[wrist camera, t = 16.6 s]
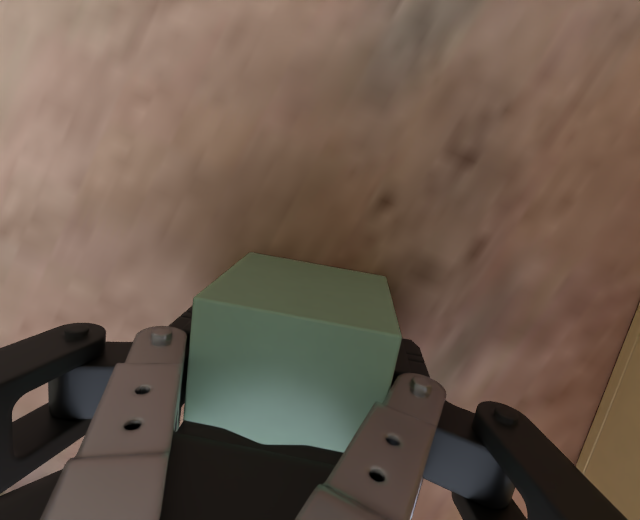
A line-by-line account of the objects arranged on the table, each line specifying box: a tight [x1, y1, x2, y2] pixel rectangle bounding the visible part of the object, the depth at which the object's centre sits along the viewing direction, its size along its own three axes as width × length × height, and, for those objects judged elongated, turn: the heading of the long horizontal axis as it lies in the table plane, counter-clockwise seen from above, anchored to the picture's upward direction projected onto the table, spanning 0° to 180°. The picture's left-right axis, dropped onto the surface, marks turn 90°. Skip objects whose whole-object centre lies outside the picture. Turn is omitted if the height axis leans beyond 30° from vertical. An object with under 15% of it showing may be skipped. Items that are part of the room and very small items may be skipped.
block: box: [183, 252, 402, 453], centre depth 12 cm, size 5×5×5 cm
